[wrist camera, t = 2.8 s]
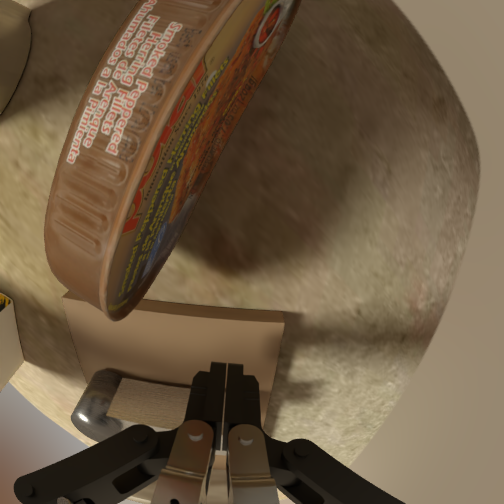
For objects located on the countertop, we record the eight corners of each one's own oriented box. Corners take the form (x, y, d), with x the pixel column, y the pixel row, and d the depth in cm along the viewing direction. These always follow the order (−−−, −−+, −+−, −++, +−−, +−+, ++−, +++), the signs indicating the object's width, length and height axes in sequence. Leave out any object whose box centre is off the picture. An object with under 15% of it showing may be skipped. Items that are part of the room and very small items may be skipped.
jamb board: (70, 288, 15) (17, 341, 9) (282, 311, 16) (299, 388, 10) (126, 452, 21) (113, 495, 16) (250, 468, 22) (252, 515, 16)
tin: (167, 270, 15) (104, 379, 7) (117, 245, 14) (23, 329, 6) (298, 24, 10) (348, -77, 2) (244, 1, 10) (246, -108, 2)
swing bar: (99, 396, 16) (80, 436, 12) (87, 365, 15) (63, 407, 11) (243, 418, 17) (243, 466, 13) (246, 389, 16) (248, 442, 12)
